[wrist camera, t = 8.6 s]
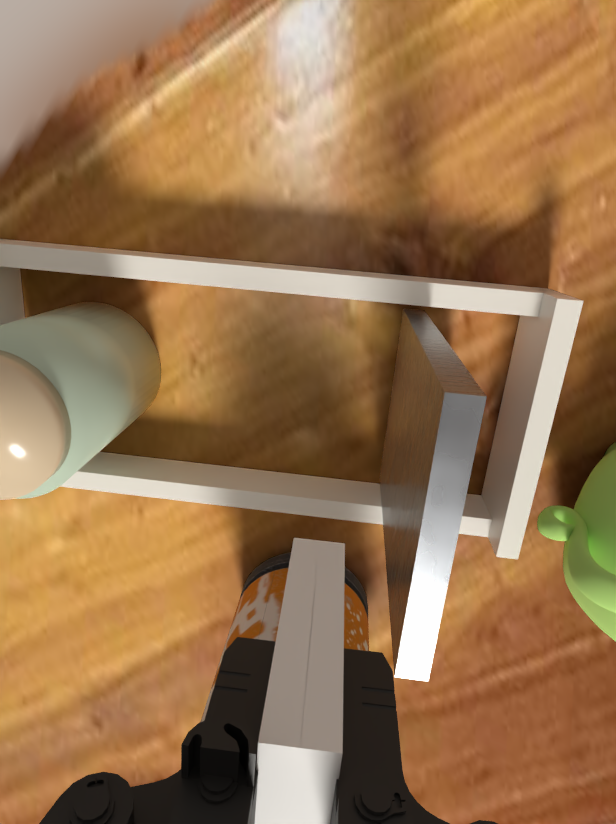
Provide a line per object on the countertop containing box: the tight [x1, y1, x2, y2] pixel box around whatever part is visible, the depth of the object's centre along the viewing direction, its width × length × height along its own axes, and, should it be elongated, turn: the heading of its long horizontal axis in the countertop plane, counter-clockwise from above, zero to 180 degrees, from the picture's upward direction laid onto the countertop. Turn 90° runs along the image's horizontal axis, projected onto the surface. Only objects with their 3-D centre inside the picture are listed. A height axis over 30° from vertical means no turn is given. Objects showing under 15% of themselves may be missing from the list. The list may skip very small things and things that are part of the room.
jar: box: [0, 302, 161, 500], centre depth 29 cm, size 8×8×11 cm
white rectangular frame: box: [0, 239, 583, 559], centre depth 31 cm, size 32×14×5 cm, turn 85°
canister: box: [201, 553, 369, 722], centre depth 29 cm, size 9×11×20 cm
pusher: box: [380, 308, 487, 681], centre depth 25 cm, size 3×11×16 cm, turn 176°
